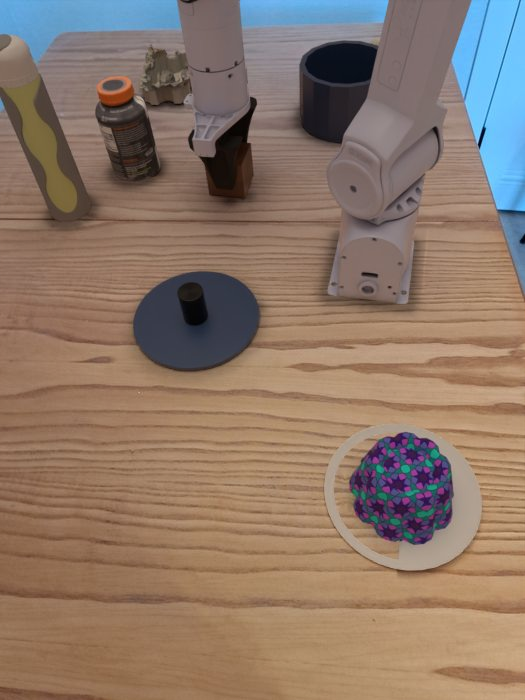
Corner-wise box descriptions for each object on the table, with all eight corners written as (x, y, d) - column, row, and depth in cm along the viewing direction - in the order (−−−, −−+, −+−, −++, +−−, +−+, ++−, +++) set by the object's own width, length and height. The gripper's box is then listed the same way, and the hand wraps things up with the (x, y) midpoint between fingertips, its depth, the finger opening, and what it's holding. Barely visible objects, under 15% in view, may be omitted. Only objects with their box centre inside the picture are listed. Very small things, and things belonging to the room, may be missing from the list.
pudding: (355, 594, 41) (361, 573, 37) (304, 449, 48) (303, 417, 44) (509, 546, 42) (532, 520, 38) (437, 412, 49) (449, 377, 45)
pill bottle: (165, 156, 74) (145, 69, 65) (155, 184, 71) (133, 97, 62) (120, 156, 75) (95, 70, 66) (109, 184, 71) (80, 98, 62)
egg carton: (154, 69, 88) (148, 42, 85) (202, 68, 88) (198, 41, 84) (138, 106, 82) (132, 78, 79) (190, 106, 81) (185, 78, 78)
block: (245, 197, 67) (241, 165, 64) (209, 194, 68) (203, 162, 64) (253, 174, 70) (250, 142, 66) (219, 171, 70) (214, 139, 67)
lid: (242, 384, 52) (237, 353, 49) (116, 364, 55) (102, 333, 51) (271, 286, 59) (269, 252, 56) (159, 271, 62) (150, 238, 58)
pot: (381, 145, 73) (387, 89, 67) (293, 139, 75) (291, 83, 69) (389, 98, 79) (396, 42, 73) (308, 93, 81) (308, 38, 76)
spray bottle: (95, 219, 68) (29, 45, 52) (54, 229, 67) (-26, 57, 51) (90, 195, 70) (26, 23, 54) (50, 204, 70) (-26, 33, 54)
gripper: (198, 23, 62) (214, 136, 73) (153, 94, 53) (179, 210, 64) (262, 25, 60) (269, 140, 71) (226, 99, 52) (240, 216, 63)
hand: (230, 174), depth 68 cm, fingers closed on block, 4 cm apart
